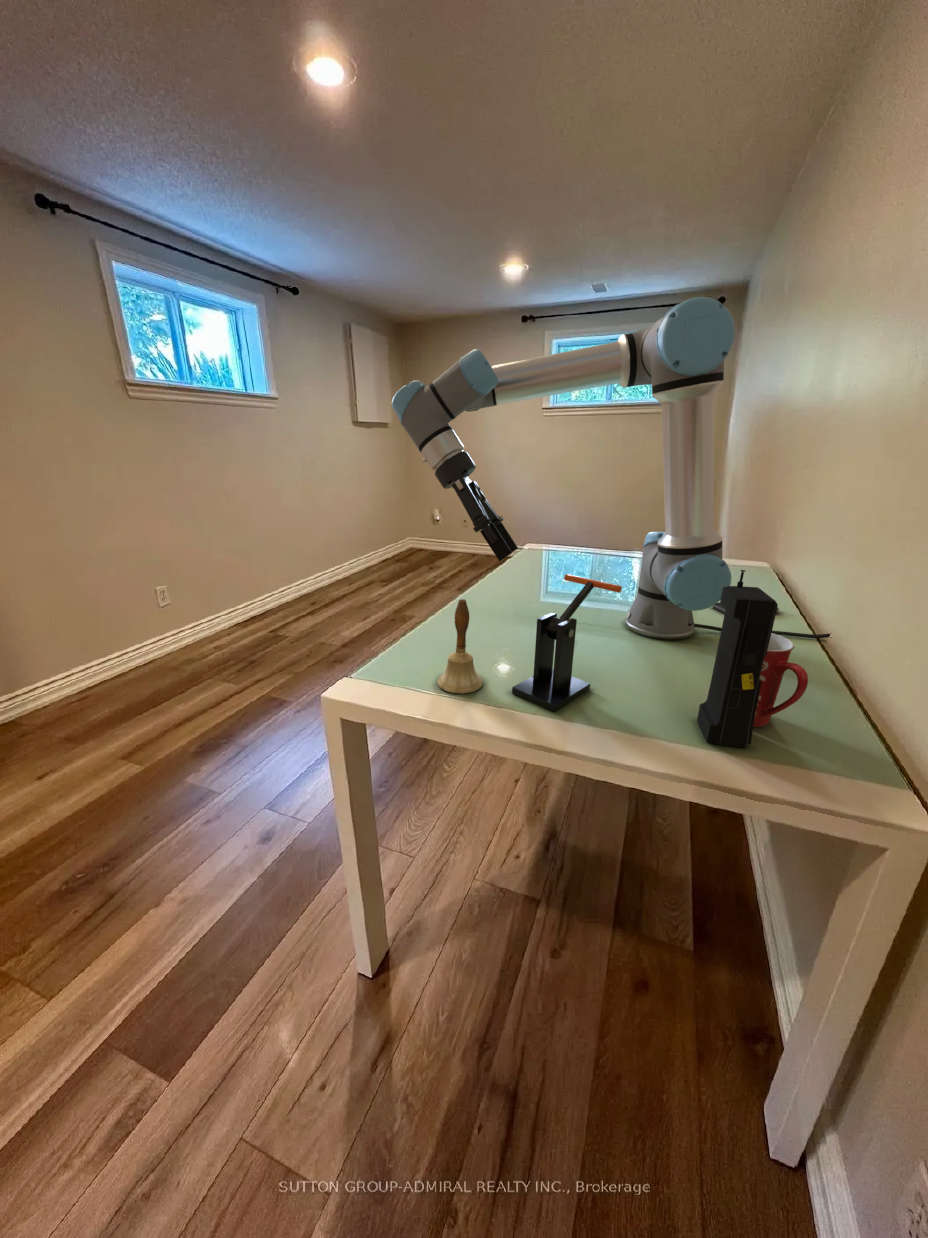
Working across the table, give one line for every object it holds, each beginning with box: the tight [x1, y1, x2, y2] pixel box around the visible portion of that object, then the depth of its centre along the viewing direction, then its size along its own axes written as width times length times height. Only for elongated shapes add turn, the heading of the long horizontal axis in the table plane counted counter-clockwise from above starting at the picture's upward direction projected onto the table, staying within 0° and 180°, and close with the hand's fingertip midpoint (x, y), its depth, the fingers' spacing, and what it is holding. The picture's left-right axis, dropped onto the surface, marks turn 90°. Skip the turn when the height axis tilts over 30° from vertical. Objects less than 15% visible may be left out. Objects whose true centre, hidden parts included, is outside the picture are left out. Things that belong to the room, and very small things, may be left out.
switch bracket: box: [511, 612, 591, 713], centre depth 85 cm, size 11×9×14 cm
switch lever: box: [545, 573, 623, 641], centre depth 85 cm, size 14×11×2 cm
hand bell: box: [436, 598, 484, 694], centre depth 87 cm, size 8×8×16 cm
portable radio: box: [696, 569, 779, 749], centre depth 70 cm, size 8×6×25 cm
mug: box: [753, 633, 809, 728], centre depth 76 cm, size 13×9×14 cm
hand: (509, 554), depth 95 cm, fingers open, 13 cm apart
